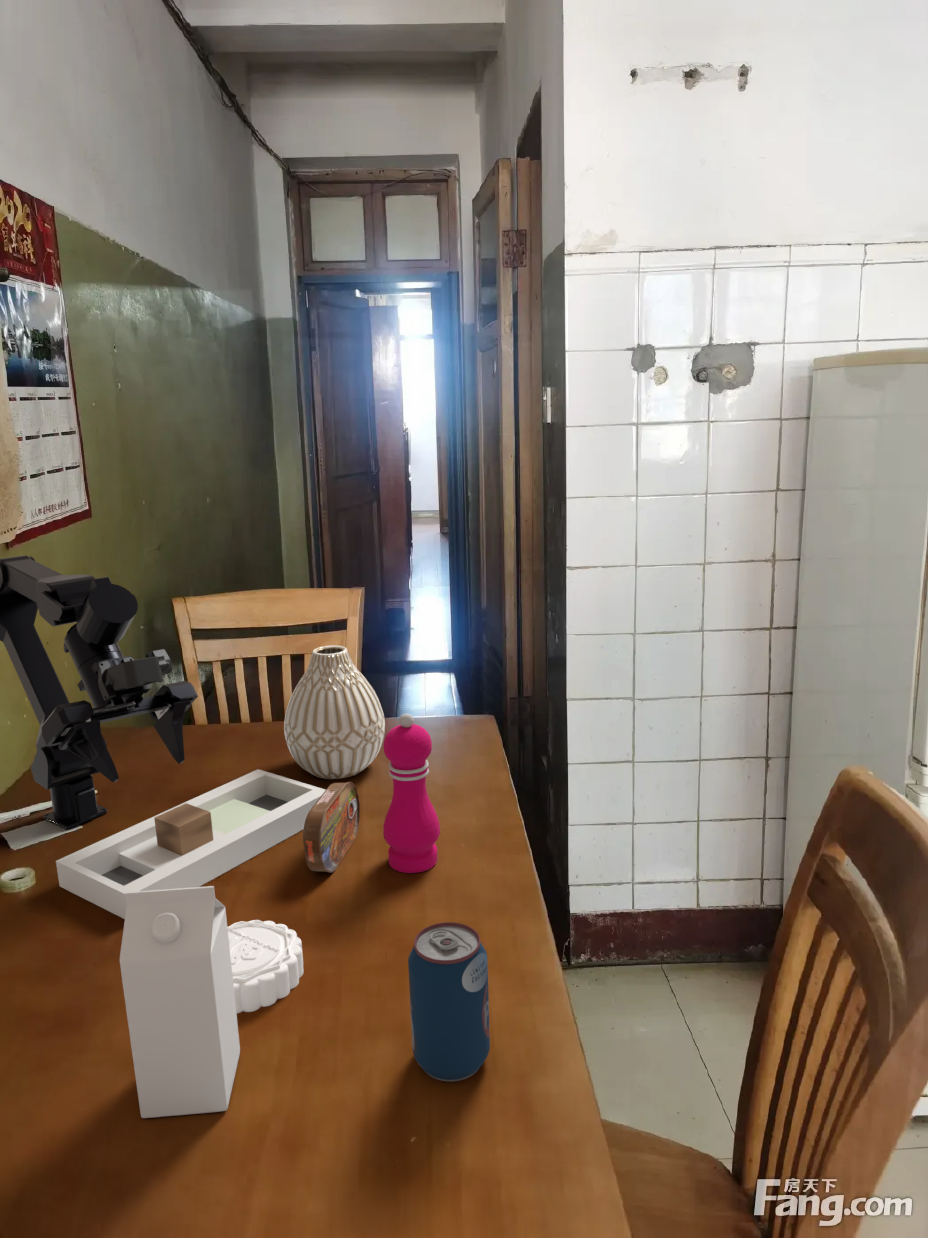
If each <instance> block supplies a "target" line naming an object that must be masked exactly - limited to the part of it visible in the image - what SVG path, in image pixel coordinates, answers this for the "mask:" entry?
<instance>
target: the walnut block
mask: <svg viewBox="0 0 928 1238" xmlns="http://www.w3.org/2000/svg"><path fill="white" fill-rule="evenodd" d="M184 803H185V802H184ZM173 808H174V807H173ZM162 813H163V812H162ZM154 820H155V828H156V836H157V844H158V846H159V847H162V848H164V849H167V850H169V851H171V852H174V853H176V854H179V855H181V856H183V855H185V854H187V853H189V852H191V851H193V850H195V849H197V848H199V847H201V846H203V845H205V844H207V843H209V842H211V841H213V831H212V821H211V812H209V811H206V810H203V809H201V808H198V807H195V806H192V805H190V804H187V803H185V804H183V805H181V806H179V807H177V808H174V809H172V810H170V811H168V812H166V813H163V814H161V815H159V816H157V817H155V818H154Z"/></svg>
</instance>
